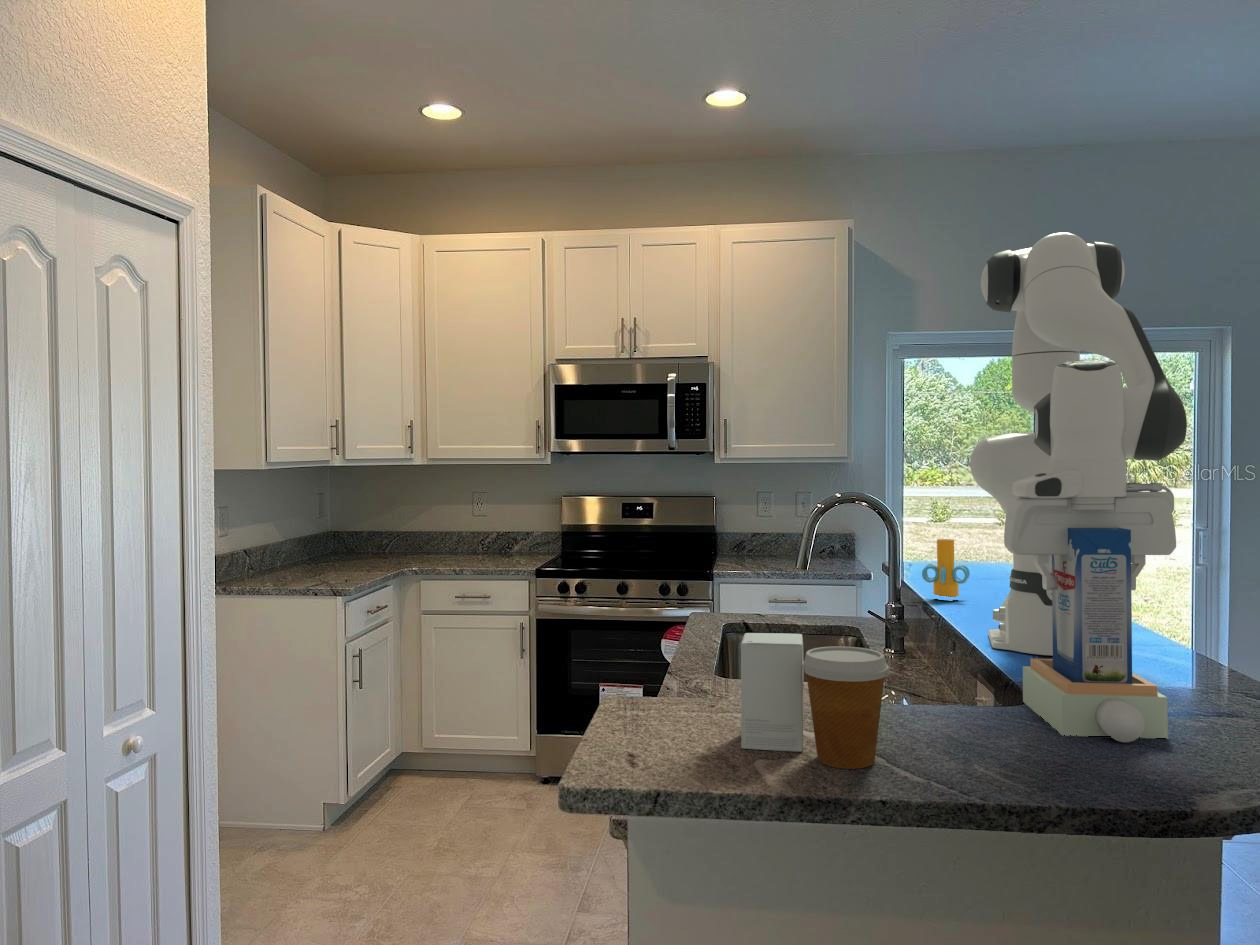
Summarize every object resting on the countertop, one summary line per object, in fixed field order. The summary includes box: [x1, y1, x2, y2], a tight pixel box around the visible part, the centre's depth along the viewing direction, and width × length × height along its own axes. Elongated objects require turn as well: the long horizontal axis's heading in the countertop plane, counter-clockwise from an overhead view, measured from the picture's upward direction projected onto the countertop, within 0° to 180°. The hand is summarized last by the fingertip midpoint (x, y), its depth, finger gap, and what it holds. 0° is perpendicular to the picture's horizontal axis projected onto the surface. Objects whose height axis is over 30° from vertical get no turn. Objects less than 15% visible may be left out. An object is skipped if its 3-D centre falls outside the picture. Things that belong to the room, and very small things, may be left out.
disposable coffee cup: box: [802, 645, 890, 770], centre depth 100 cm, size 10×10×12 cm
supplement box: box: [740, 632, 805, 753], centre depth 107 cm, size 7×7×13 cm
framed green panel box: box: [1022, 658, 1169, 743], centre depth 114 cm, size 19×12×6 cm, turn 172°
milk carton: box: [1052, 528, 1133, 684], centre depth 115 cm, size 10×6×20 cm, turn 172°
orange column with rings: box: [921, 538, 971, 597], centre depth 221 cm, size 12×10×15 cm
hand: (1088, 589), depth 116 cm, fingers open, 8 cm apart
